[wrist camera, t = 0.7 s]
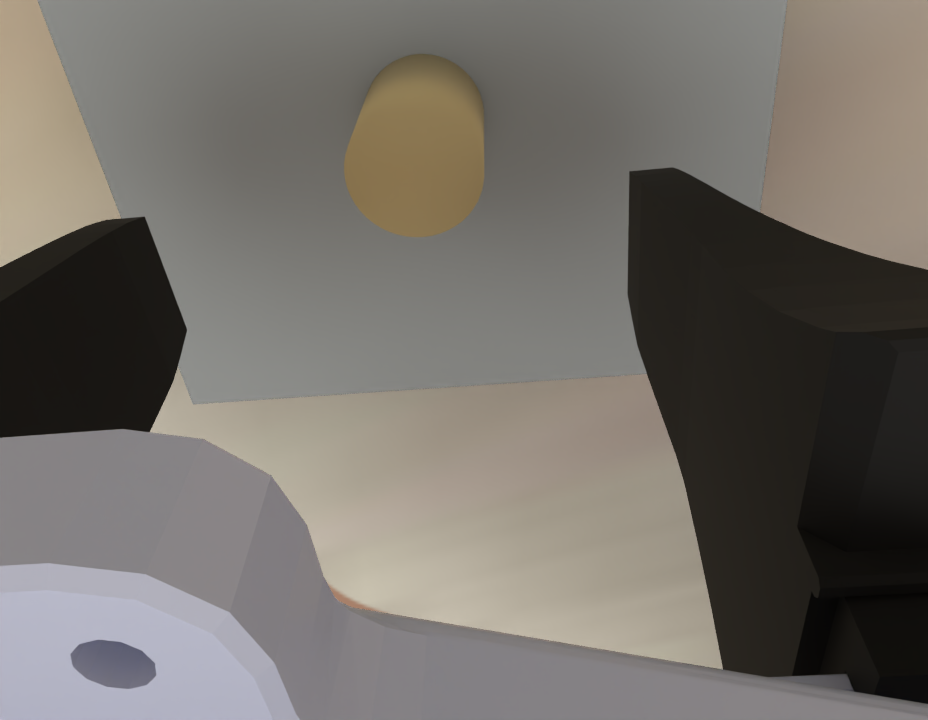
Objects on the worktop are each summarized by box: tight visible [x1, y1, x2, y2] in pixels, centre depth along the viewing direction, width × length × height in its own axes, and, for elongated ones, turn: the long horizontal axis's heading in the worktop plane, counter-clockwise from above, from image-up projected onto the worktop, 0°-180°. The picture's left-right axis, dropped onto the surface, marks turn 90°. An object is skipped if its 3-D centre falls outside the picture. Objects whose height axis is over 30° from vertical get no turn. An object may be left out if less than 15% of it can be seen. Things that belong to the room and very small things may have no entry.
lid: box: [38, 0, 787, 404], centre depth 16 cm, size 15×15×4 cm
